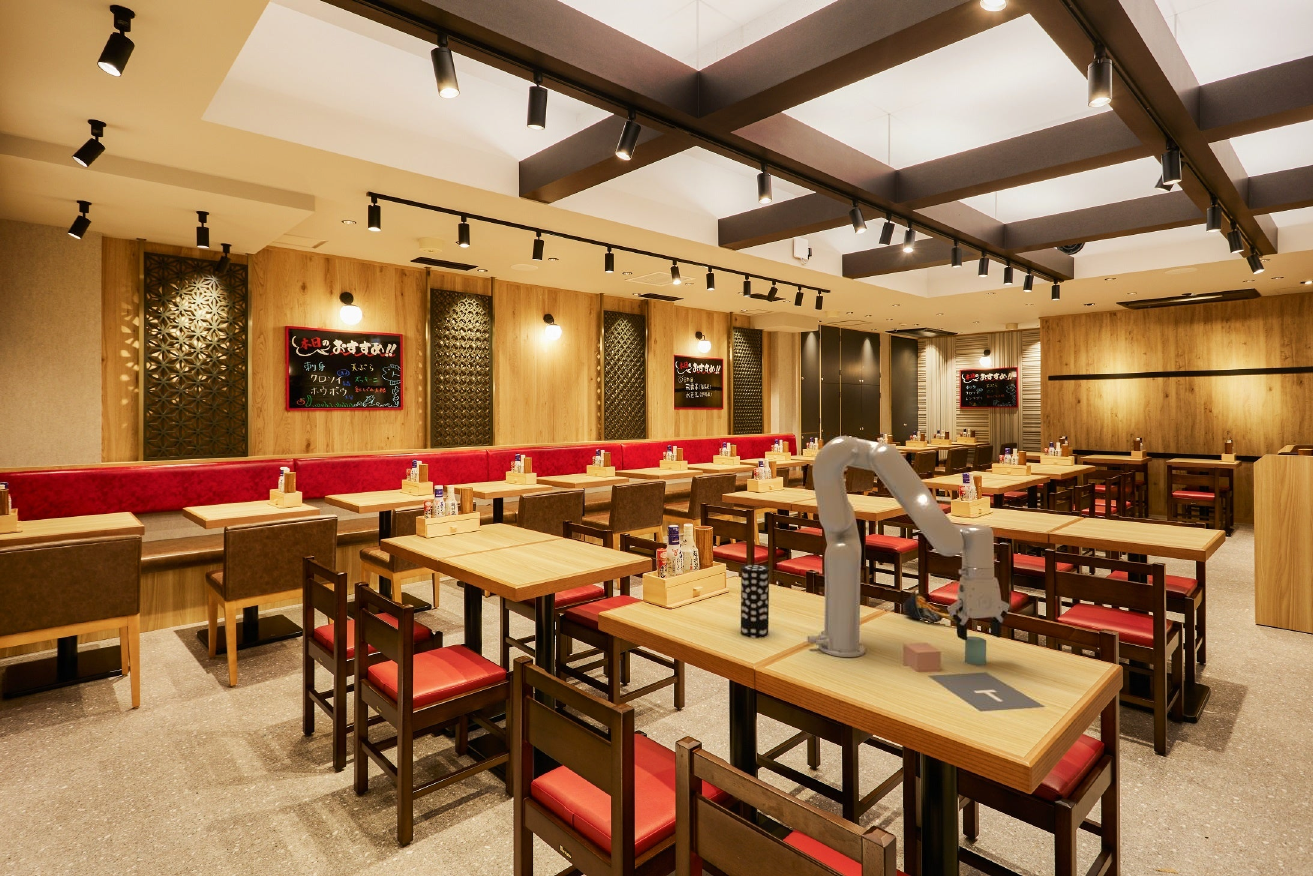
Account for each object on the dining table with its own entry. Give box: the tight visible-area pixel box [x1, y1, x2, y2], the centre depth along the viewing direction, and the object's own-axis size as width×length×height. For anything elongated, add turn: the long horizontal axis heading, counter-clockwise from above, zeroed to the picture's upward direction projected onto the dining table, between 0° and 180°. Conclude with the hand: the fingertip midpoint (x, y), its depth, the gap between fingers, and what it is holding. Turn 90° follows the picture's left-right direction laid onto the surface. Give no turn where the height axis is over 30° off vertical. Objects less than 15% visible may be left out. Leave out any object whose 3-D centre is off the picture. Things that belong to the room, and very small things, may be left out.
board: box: [928, 671, 1046, 712], centre depth 152 cm, size 16×20×1 cm
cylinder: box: [964, 635, 987, 667], centre depth 170 cm, size 5×5×7 cm
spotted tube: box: [740, 564, 770, 639], centre depth 195 cm, size 8×8×20 cm
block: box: [902, 642, 942, 673], centre depth 167 cm, size 6×6×6 cm
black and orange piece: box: [902, 592, 954, 623], centre depth 208 cm, size 9×11×18 cm
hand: (979, 637), depth 170 cm, fingers open, 9 cm apart
